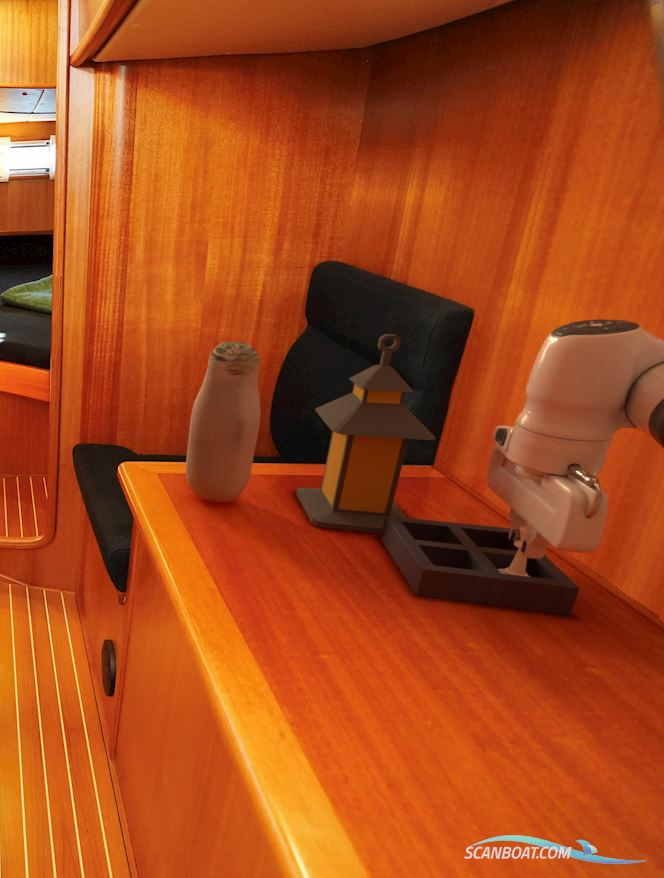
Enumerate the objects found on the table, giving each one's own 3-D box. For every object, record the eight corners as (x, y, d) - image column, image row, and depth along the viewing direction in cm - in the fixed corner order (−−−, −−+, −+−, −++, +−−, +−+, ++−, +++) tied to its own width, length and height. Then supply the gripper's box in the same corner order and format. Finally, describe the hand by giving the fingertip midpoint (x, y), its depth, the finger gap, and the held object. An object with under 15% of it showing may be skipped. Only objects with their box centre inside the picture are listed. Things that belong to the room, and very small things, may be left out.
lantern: (416, 537, 108) (466, 347, 97) (313, 526, 112) (351, 343, 102) (386, 499, 120) (428, 327, 110) (294, 491, 125) (326, 324, 114)
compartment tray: (510, 553, 103) (517, 528, 101) (570, 615, 88) (580, 588, 87) (379, 538, 108) (385, 515, 106) (416, 595, 93) (423, 569, 92)
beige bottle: (170, 491, 126) (189, 339, 117) (219, 484, 129) (240, 333, 119) (207, 514, 117) (230, 351, 108) (258, 506, 120) (286, 345, 110)
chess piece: (480, 577, 94) (500, 511, 91) (503, 570, 96) (524, 504, 93) (522, 596, 90) (545, 527, 87) (546, 587, 92) (569, 519, 88)
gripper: (641, 487, 76) (600, 595, 81) (546, 426, 94) (517, 518, 99) (569, 481, 78) (533, 587, 83) (489, 423, 96) (463, 513, 101)
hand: (524, 549), depth 91 cm, fingers closed on chess piece
